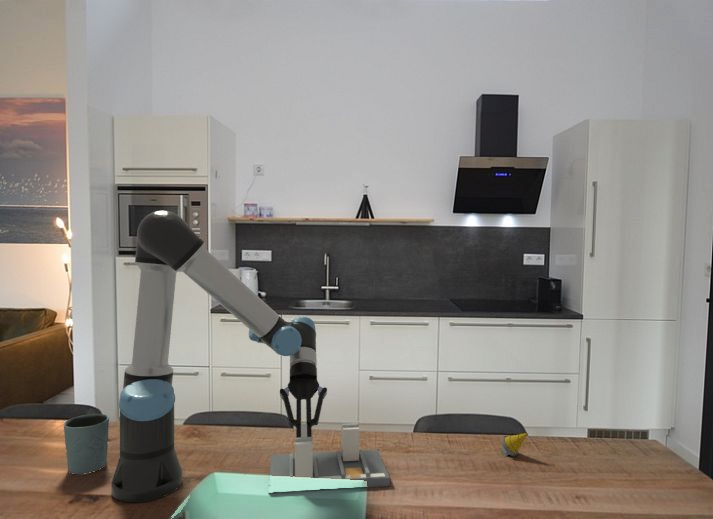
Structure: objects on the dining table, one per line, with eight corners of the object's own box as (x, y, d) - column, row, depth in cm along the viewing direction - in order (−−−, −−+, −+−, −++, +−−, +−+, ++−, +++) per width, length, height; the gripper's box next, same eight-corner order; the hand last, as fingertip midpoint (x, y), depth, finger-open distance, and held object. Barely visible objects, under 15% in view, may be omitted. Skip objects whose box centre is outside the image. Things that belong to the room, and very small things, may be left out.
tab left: (294, 478, 111) (295, 441, 110) (294, 470, 114) (294, 435, 114) (312, 477, 111) (312, 441, 111) (311, 469, 115) (312, 434, 115)
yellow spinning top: (505, 449, 135) (532, 430, 131) (509, 465, 130) (537, 446, 126) (491, 439, 133) (519, 420, 129) (495, 455, 129) (523, 435, 125)
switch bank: (268, 493, 108) (268, 479, 108) (271, 462, 124) (271, 450, 124) (389, 486, 112) (389, 472, 112) (377, 456, 128) (377, 444, 128)
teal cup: (89, 478, 115) (89, 429, 115) (53, 474, 117) (53, 425, 117) (118, 460, 125) (118, 414, 125) (84, 456, 127) (84, 411, 127)
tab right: (343, 461, 120) (343, 427, 120) (341, 454, 124) (341, 421, 124) (359, 460, 120) (359, 426, 120) (357, 453, 124) (357, 420, 124)
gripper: (325, 373, 137) (329, 456, 121) (280, 375, 136) (277, 459, 120) (327, 359, 132) (331, 444, 116) (279, 360, 130) (276, 447, 114)
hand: (304, 451), depth 118 cm, fingers closed
